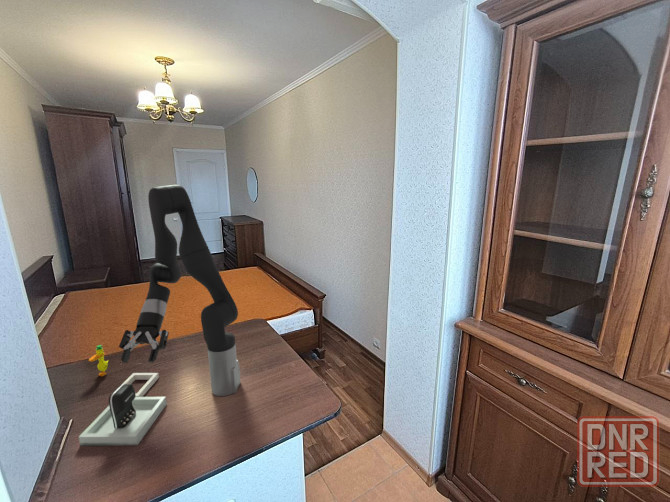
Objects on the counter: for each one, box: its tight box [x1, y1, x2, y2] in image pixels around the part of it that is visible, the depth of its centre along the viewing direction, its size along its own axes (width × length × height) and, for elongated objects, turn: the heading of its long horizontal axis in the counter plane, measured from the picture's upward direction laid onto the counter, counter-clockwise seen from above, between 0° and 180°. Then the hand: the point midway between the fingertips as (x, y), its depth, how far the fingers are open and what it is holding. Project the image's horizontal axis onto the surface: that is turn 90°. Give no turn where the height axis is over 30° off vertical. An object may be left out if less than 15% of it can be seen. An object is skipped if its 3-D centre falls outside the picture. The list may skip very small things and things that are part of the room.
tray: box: [78, 396, 168, 447], centre depth 93 cm, size 16×16×3 cm
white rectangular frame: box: [122, 372, 160, 397], centre depth 109 cm, size 9×12×2 cm
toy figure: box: [88, 344, 109, 377], centre depth 115 cm, size 7×4×12 cm, turn 166°
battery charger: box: [108, 383, 136, 429], centre depth 92 cm, size 7×4×11 cm, turn 0°
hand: (137, 362), depth 99 cm, fingers open, 8 cm apart
